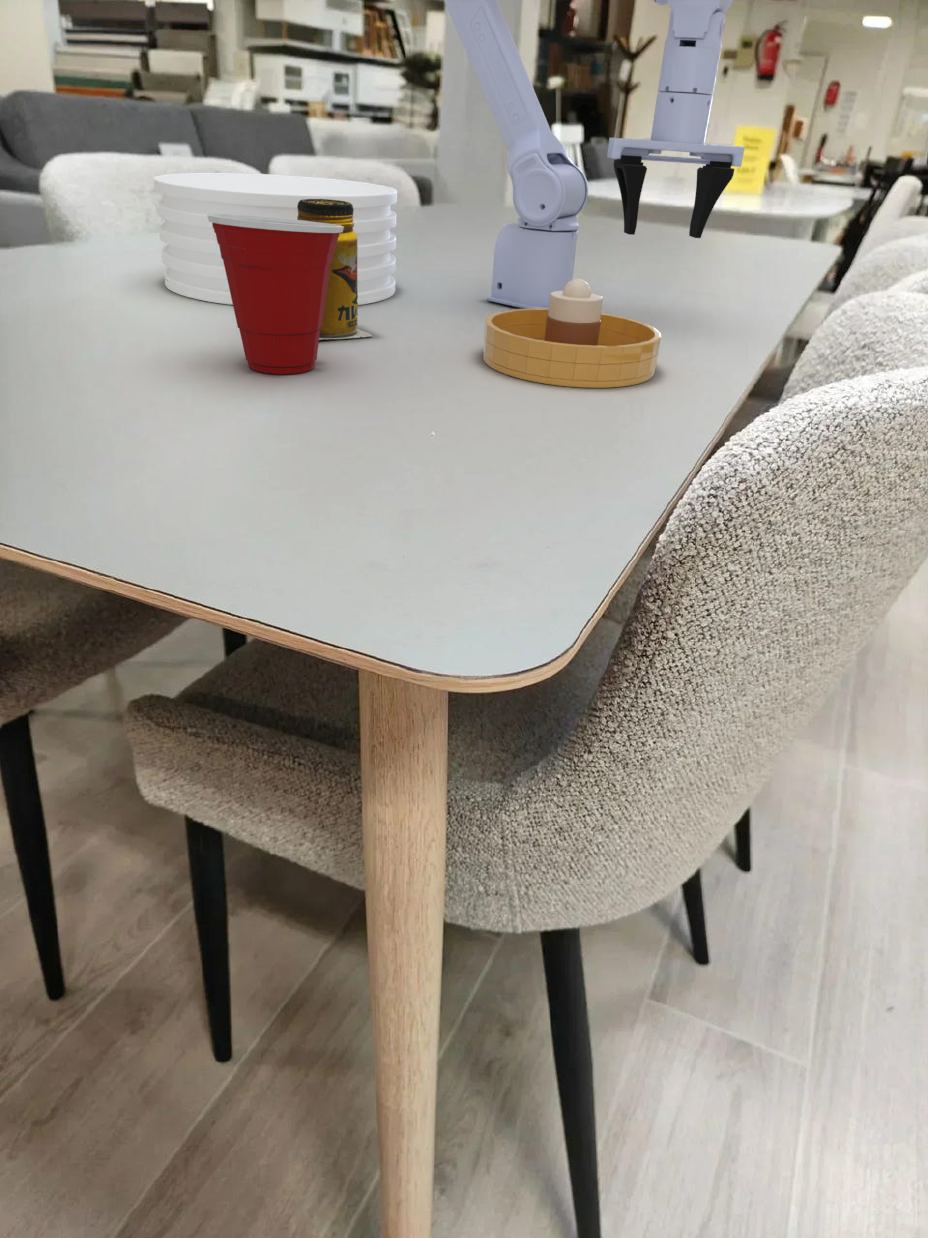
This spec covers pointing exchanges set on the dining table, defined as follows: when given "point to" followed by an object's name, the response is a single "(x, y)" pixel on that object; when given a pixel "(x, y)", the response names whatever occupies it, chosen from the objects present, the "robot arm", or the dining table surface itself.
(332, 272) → the condiment
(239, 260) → the plastic cup
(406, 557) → the dining table surface
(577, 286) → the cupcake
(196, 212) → the plate stack
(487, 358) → the bowl
